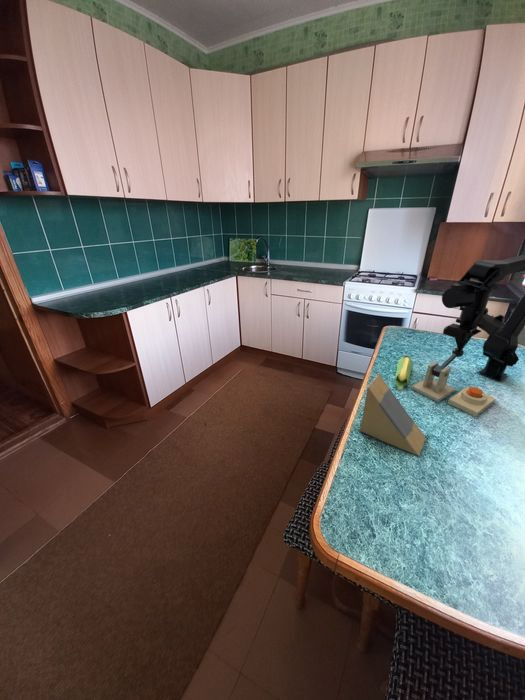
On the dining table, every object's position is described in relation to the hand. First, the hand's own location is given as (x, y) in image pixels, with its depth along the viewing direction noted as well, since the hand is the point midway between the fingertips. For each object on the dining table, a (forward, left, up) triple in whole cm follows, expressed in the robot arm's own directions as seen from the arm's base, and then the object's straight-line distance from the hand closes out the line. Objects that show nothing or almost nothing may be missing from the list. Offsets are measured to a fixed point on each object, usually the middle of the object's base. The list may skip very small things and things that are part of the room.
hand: (460, 349), depth 95 cm
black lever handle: (+3, -1, -5) cm, 6 cm away
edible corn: (+10, -11, -13) cm, 20 cm away
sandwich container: (+38, +4, -13) cm, 41 cm away
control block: (+6, +10, -13) cm, 17 cm away
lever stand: (+9, -1, -13) cm, 16 cm away
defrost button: (+6, +10, -10) cm, 15 cm away
